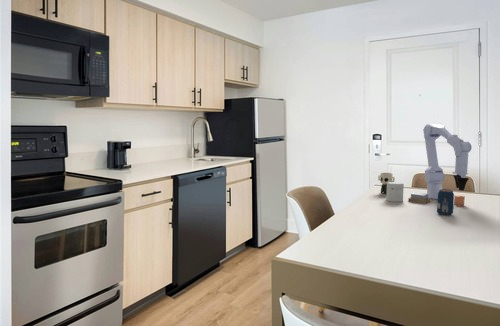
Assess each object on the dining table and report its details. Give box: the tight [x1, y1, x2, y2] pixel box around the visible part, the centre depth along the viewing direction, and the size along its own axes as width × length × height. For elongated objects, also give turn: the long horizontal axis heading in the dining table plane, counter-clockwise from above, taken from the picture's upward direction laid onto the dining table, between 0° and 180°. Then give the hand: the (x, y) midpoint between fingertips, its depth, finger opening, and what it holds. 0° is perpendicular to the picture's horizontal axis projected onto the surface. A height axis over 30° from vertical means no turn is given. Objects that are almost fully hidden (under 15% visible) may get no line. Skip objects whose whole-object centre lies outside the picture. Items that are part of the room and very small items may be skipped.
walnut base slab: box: [407, 196, 432, 205], centre depth 204 cm, size 9×9×2 cm
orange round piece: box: [453, 194, 465, 207], centre depth 194 cm, size 5×5×5 cm
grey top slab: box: [410, 191, 428, 200], centre depth 204 cm, size 7×7×2 cm
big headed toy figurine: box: [377, 172, 395, 195], centre depth 227 cm, size 11×7×13 cm, turn 40°
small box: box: [385, 181, 405, 203], centre depth 206 cm, size 8×6×10 cm
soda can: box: [436, 188, 455, 217], centre depth 174 cm, size 7×7×12 cm
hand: (460, 189), depth 193 cm, fingers open, 7 cm apart
